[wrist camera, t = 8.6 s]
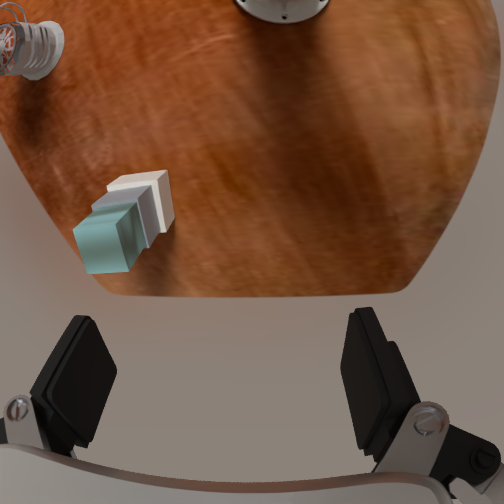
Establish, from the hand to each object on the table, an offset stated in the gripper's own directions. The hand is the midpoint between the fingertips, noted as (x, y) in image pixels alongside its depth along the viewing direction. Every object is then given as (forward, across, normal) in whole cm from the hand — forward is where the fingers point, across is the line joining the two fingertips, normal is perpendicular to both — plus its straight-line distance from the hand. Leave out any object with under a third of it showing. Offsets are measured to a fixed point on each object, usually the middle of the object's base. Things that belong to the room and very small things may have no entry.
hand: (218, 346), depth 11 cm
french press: (+32, +29, -23) cm, 49 cm away
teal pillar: (+22, +14, +4) cm, 27 cm away
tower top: (+27, +14, +4) cm, 31 cm away
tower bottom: (+32, +14, +4) cm, 36 cm away
